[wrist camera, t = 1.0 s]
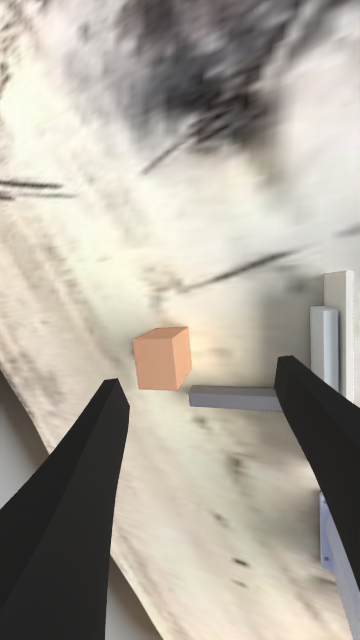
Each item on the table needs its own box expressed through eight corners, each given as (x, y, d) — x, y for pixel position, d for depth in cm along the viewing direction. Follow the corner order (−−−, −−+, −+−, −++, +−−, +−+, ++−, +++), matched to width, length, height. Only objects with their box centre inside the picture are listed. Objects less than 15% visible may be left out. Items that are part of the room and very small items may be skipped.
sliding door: (323, 403, 23) (338, 427, 19) (193, 397, 27) (185, 416, 23) (321, 305, 21) (337, 310, 18) (186, 314, 25) (175, 319, 22)
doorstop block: (192, 368, 27) (177, 390, 21) (160, 368, 28) (138, 389, 22) (188, 326, 26) (172, 338, 20) (156, 328, 27) (132, 339, 21)
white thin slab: (332, 465, 24) (353, 510, 19) (312, 463, 24) (328, 506, 19) (329, 273, 21) (353, 269, 16) (308, 275, 22) (325, 272, 17)
